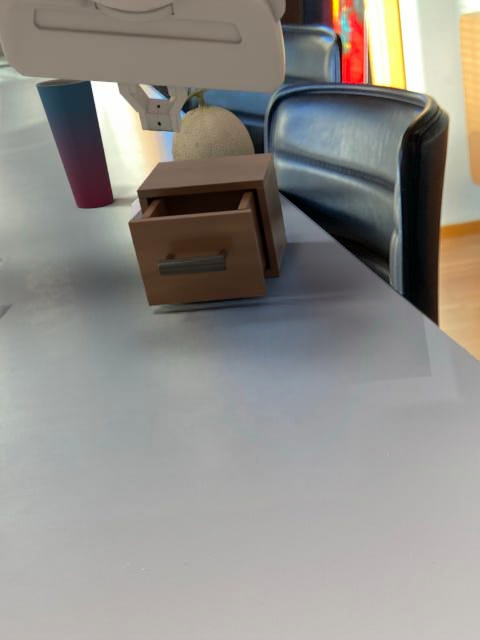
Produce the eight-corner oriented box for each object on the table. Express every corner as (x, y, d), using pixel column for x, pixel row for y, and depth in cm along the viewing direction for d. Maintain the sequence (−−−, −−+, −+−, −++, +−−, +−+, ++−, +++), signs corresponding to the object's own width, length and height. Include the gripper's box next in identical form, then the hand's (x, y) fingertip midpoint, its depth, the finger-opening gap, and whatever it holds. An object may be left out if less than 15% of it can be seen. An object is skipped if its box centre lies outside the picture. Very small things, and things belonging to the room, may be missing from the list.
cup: (75, 199, 143) (42, 79, 135) (124, 195, 144) (94, 75, 135) (65, 211, 138) (29, 87, 129) (116, 207, 138) (84, 82, 130)
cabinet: (279, 276, 108) (262, 179, 102) (160, 287, 107) (136, 190, 101) (287, 242, 119) (272, 152, 113) (178, 251, 118) (158, 162, 112)
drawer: (262, 309, 96) (246, 223, 92) (141, 320, 96) (119, 234, 91) (274, 259, 110) (261, 182, 105) (168, 269, 109) (150, 191, 105)
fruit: (162, 207, 136) (133, 82, 128) (231, 189, 143) (208, 68, 134) (209, 217, 131) (181, 86, 122) (278, 197, 137) (257, 71, 128)
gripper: (284, -68, 72) (294, 109, 84) (-20, -95, 69) (37, 91, 82) (281, -13, 69) (292, 161, 81) (-36, -39, 67) (25, 145, 79)
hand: (162, 126), depth 82 cm, fingers closed
